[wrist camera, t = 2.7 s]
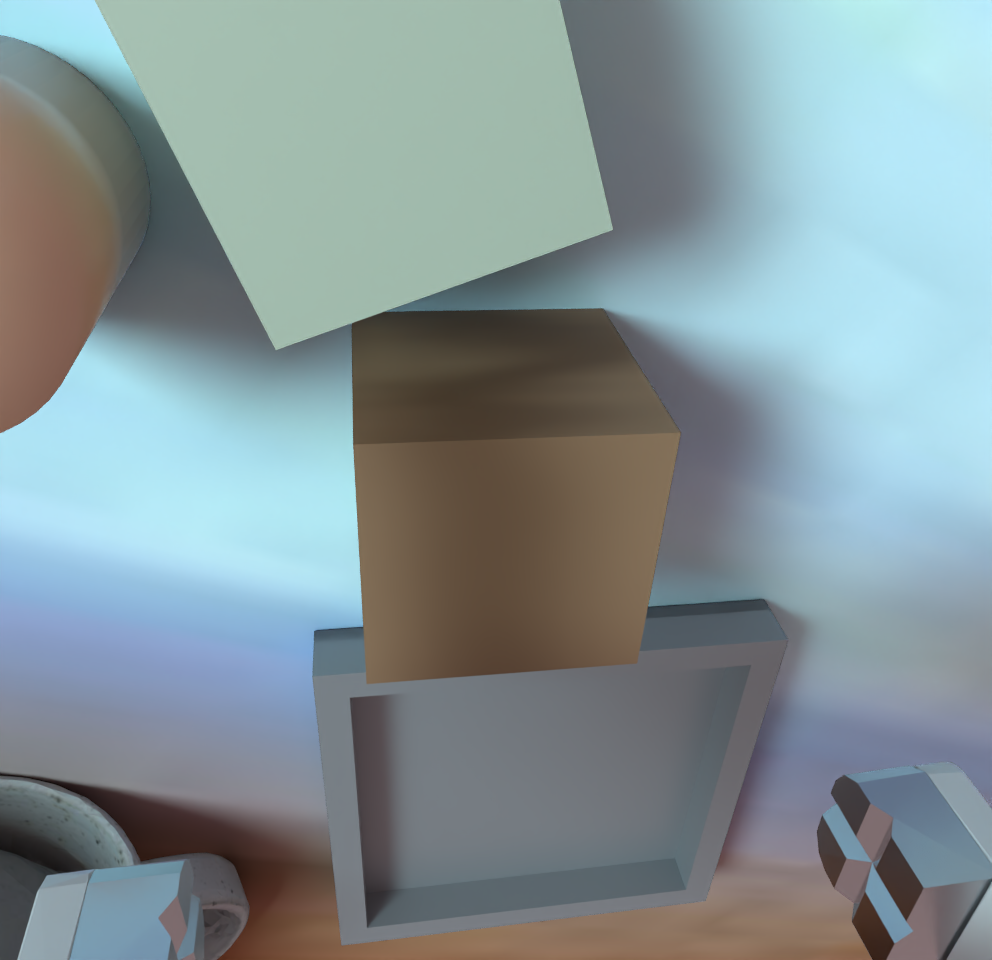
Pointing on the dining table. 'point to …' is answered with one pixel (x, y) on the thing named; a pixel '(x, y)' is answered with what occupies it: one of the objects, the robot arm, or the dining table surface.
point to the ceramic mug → (91, 860)
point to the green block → (368, 142)
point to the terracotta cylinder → (59, 219)
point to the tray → (540, 777)
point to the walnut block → (504, 491)
